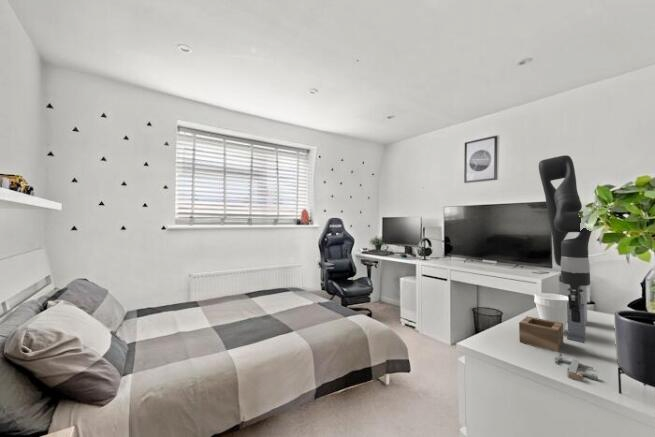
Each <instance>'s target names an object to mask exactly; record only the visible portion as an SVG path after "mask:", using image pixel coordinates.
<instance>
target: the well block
mask: <svg viewBox="0 0 655 437" xmlns="http://www.w3.org/2000/svg"><path fill="white" fill-rule="evenodd" d="M518 324H519V325H518V330H519V332H518V333H519V335H518V336H519V337H518V338H519V343H521V344H525V345H531V346H534V347H537V348H542V349H546V350H550V351H554V352H559V350H560V349H561V347H562V346H563V344H564V333H563V323H559V322H554V321H549V320H543V319H540V318H538V317H534V316H533V317H532V316H528V315H526V316H525V317H524V318H523V319H522V320H521V321H519V322H518Z"/></svg>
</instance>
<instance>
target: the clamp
mask: <svg viewBox="0 0 655 437" xmlns="http://www.w3.org/2000/svg"><path fill="white" fill-rule="evenodd" d="M561 362H563V363H567V364H570V365H569V367H567V371H566V375H567V378H568V379H572V380H575V381H578V382H584V377H587V378H588V379H592V380H595V381H598V380H599V375H598V374H596V373H595V374H594V373H592V372H584V371H582V370H578V368H579V367H581V368H586V369H591V370H593V369H594V366H589V365H588V364H584V363H580V360H579V359H575V358H572V360H569V359H565V358H562V353H561V352H559V353H557V356H554V363H555V364H557V365H558V364H560V363H561Z"/></svg>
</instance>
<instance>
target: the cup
mask: <svg viewBox="0 0 655 437" xmlns="http://www.w3.org/2000/svg"><path fill="white" fill-rule="evenodd" d="M533 302H534V303H535V305H536V309H537V313H538V316H539V319H543V320H549V321H554V322H559V323H563V334H564V333H565V330H566V327H567V325H568V322H567V320H568V318H567V302H568V297H567V296H563V295H560V294H557V293H556V294H555V293H549V292H547V293H546V292H538V293H534V300H533Z"/></svg>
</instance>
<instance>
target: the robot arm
mask: <svg viewBox="0 0 655 437" xmlns="http://www.w3.org/2000/svg"><path fill="white" fill-rule="evenodd" d="M538 172H539V177H540V180H541V184H542V187H543V192H544V196H545V197H544V198H545V203H546V205H545V206H546V210H547V218H548V221H549V226H550V232H551V237H552V245H553V248H552V250H553V255H554V256H553V257H554V262H555V264H556V265H557V266H559V267H560V275H559V276H558V279H559V285H558V287H559V295H563V296H567V297H568V302H569V308H570V310H571V320H572V321H573V322H577V323H580V311H581V309H580V305H581V304H585V321H586V325H587V324H588V297H587V295H588V294H587V287H588V286H590V285H591V265H590V260H589V259H590V258H589V242H590V238H591V235H592V233H593V232H592V231H593V230H592V231H589V230H587V229H586V228H583V229H582V230H581V231H580V223H581V217H579V215H578V213H580V212H581V211H582V201H581V199H580V196H579V193H578V190H577V189H578V187H577V178H576V176H577V175H576V171H575V165H574V161H573V159H572V157H571V156H569V155H567V154H566V155H560V156H554V157H550V158H545V159H542V160H540V161H539V163H538ZM561 179H563V180H562V182H561V183H560V184H559V185H558V187H557V188H556V187H555V186H554V185H553V183H552V182H553V181H557V180H561ZM569 233H579V234H578V235H577V236H576V237H574V238H568V239H566V237H567V235H568V234H569ZM573 305H576V306H577V307H574V306H573ZM567 323H568V320H567Z"/></svg>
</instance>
